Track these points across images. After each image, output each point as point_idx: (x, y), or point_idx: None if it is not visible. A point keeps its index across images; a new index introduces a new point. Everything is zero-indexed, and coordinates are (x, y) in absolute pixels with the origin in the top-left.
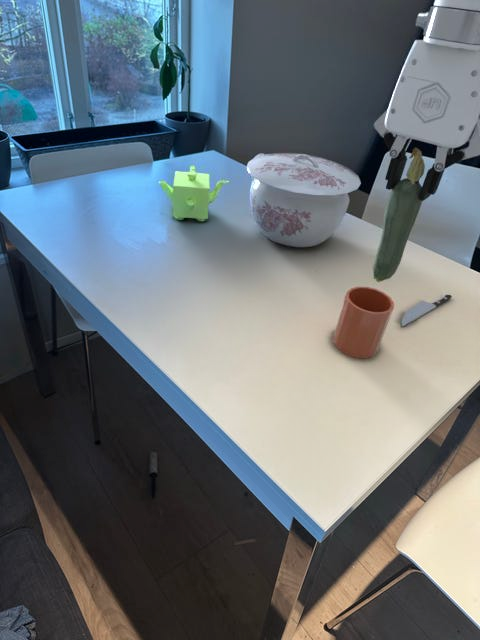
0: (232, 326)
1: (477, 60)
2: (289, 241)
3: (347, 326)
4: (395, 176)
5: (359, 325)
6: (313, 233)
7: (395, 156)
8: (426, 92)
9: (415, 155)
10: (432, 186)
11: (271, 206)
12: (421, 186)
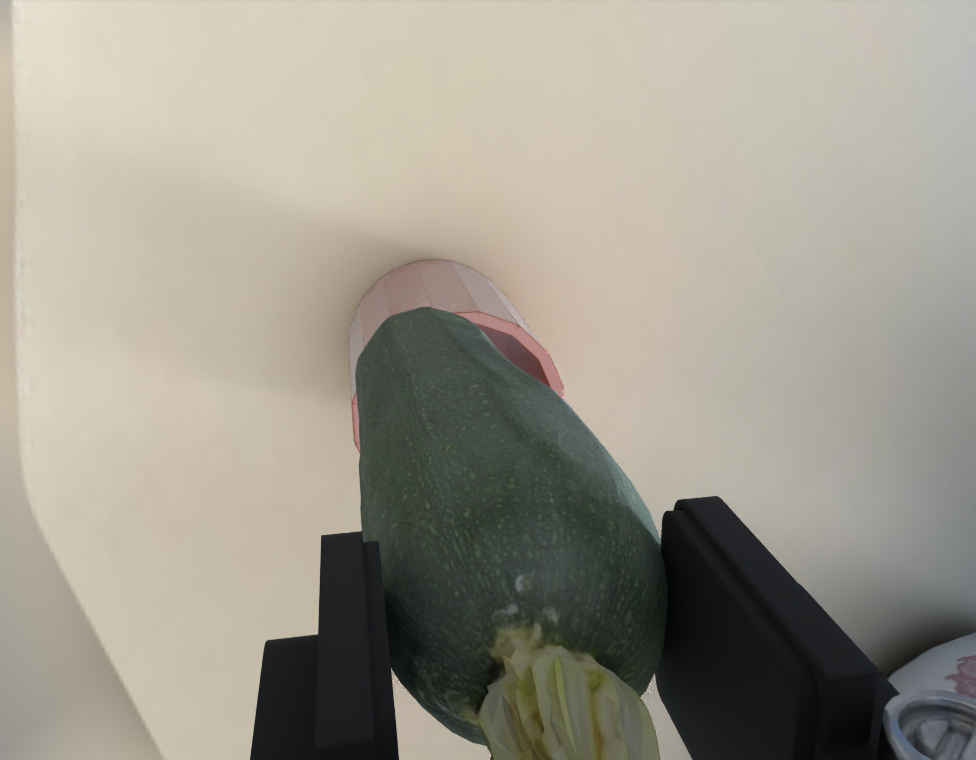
0: (829, 66)
1: None
2: (938, 654)
3: (470, 287)
4: (714, 595)
5: (426, 294)
6: None
7: (899, 728)
8: None
9: None
10: (293, 679)
11: None
12: (436, 704)
